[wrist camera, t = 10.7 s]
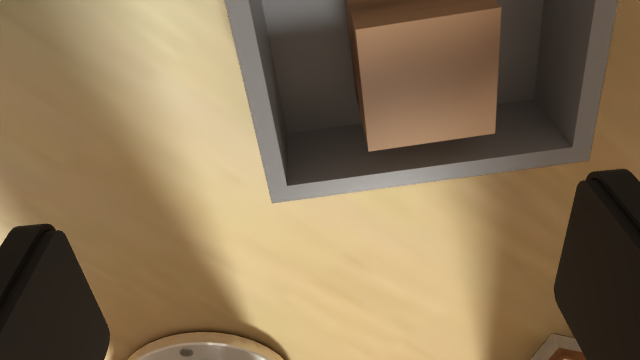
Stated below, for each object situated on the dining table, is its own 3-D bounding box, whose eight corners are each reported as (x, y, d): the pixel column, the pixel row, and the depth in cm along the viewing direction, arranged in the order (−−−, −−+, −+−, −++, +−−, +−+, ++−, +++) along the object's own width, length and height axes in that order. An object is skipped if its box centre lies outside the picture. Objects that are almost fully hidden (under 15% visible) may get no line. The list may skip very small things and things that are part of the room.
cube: (462, 79, 25) (494, 133, 21) (356, 95, 26) (368, 151, 22) (463, -31, 23) (501, 7, 19) (343, -12, 23) (355, 29, 19)
